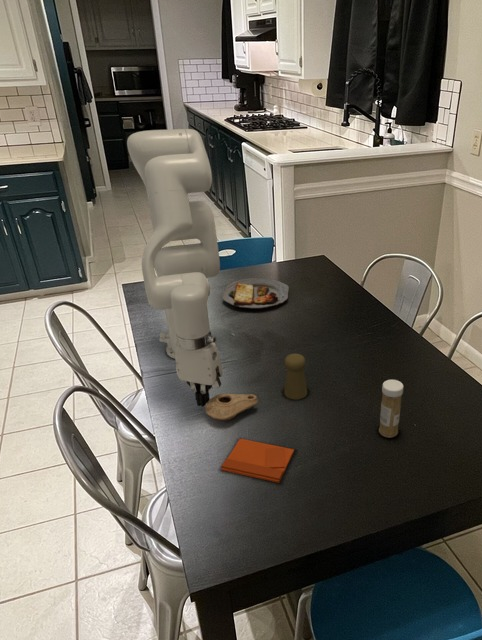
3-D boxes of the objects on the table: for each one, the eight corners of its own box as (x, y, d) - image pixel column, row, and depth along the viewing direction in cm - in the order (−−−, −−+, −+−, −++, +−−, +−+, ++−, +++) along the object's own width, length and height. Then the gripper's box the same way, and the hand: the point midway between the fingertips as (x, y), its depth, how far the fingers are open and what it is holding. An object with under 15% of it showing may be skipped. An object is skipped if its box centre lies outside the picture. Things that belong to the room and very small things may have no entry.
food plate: (287, 313, 170) (286, 303, 168) (218, 313, 170) (217, 303, 168) (289, 283, 191) (289, 275, 189) (229, 284, 191) (228, 275, 189)
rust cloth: (221, 470, 106) (221, 466, 106) (240, 440, 114) (239, 436, 114) (279, 483, 103) (279, 479, 103) (294, 451, 111) (294, 447, 111)
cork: (290, 401, 127) (289, 365, 121) (280, 389, 131) (278, 353, 126) (311, 395, 129) (311, 359, 123) (300, 383, 134) (300, 348, 128)
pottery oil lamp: (263, 416, 121) (253, 403, 115) (218, 434, 122) (206, 422, 116) (255, 387, 126) (245, 373, 121) (211, 405, 127) (199, 392, 121)
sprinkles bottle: (401, 436, 115) (407, 388, 108) (382, 439, 114) (387, 391, 107) (393, 424, 119) (398, 377, 112) (375, 427, 118) (379, 380, 111)
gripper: (231, 335, 115) (237, 400, 125) (173, 326, 119) (184, 389, 129) (216, 351, 109) (224, 418, 119) (156, 341, 113) (168, 406, 123)
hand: (203, 403), depth 124 cm, fingers closed
